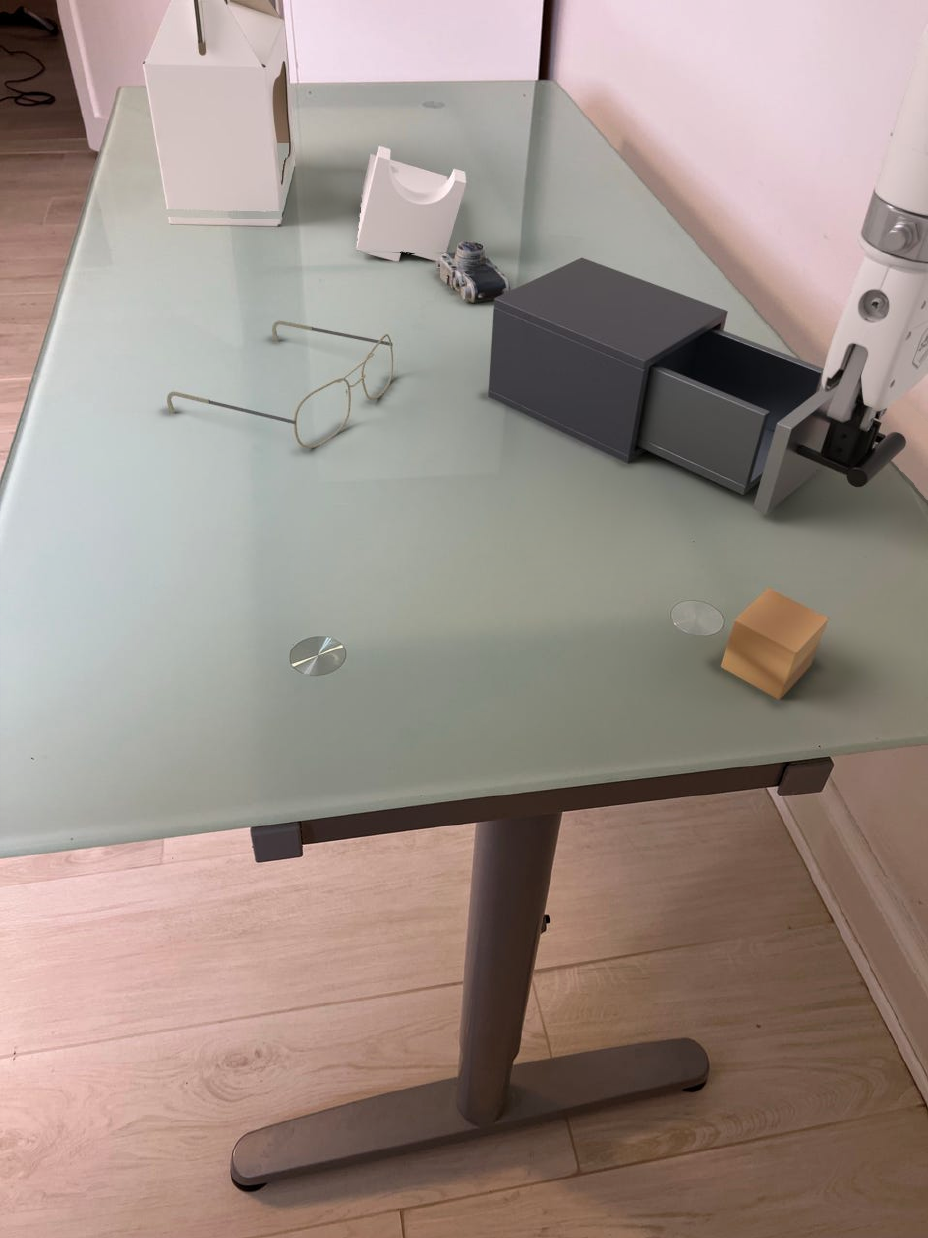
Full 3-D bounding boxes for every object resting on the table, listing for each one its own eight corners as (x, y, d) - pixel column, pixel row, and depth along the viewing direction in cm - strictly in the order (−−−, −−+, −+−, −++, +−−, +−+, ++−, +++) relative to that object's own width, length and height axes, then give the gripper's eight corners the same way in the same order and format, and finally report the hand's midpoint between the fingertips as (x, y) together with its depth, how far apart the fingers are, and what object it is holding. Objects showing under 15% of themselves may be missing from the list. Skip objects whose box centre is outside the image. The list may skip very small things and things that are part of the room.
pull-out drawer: (896, 485, 81) (930, 401, 76) (834, 547, 75) (866, 460, 69) (686, 395, 91) (703, 315, 85) (614, 443, 84) (627, 360, 79)
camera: (467, 309, 104) (468, 270, 101) (432, 270, 111) (432, 233, 108) (510, 302, 106) (513, 263, 103) (473, 264, 113) (475, 227, 110)
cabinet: (705, 409, 91) (728, 310, 84) (627, 464, 84) (645, 360, 77) (570, 351, 98) (581, 256, 92) (487, 397, 91) (493, 297, 84)
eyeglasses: (311, 460, 82) (307, 407, 79) (168, 413, 87) (158, 361, 84) (405, 377, 93) (405, 328, 90) (273, 339, 98) (268, 291, 94)
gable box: (280, 228, 119) (254, -51, 100) (168, 226, 118) (121, -55, 99) (296, 165, 135) (276, -84, 116) (198, 163, 134) (162, -88, 115)
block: (810, 666, 66) (829, 618, 63) (779, 701, 64) (796, 652, 61) (752, 635, 68) (768, 586, 65) (720, 667, 66) (734, 619, 63)
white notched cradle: (439, 273, 114) (466, 183, 107) (356, 250, 111) (378, 156, 105) (436, 214, 127) (459, 130, 120) (361, 192, 125) (381, 106, 118)
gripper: (934, 278, 59) (843, 525, 71) (1021, 213, 67) (926, 444, 80) (818, 241, 62) (751, 483, 75) (915, 185, 71) (840, 410, 83)
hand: (841, 462), depth 77 cm, fingers closed
